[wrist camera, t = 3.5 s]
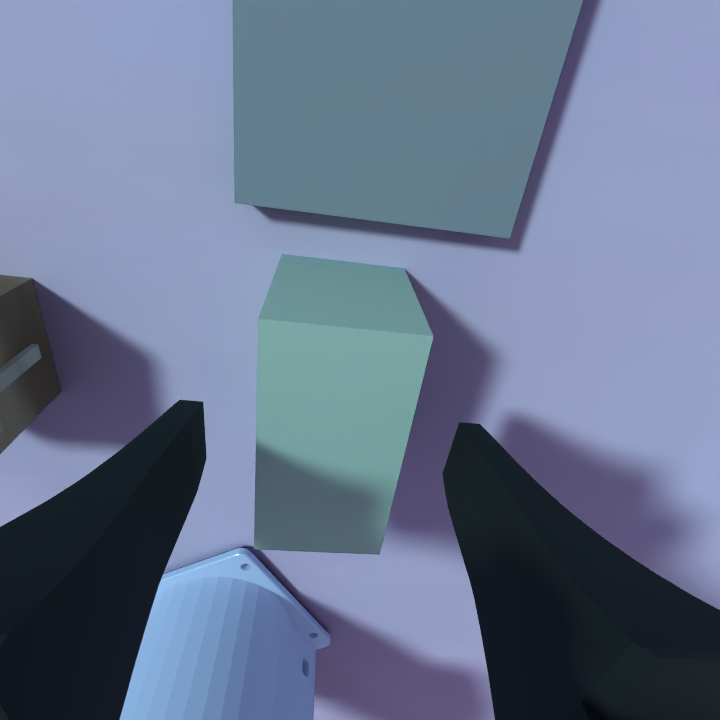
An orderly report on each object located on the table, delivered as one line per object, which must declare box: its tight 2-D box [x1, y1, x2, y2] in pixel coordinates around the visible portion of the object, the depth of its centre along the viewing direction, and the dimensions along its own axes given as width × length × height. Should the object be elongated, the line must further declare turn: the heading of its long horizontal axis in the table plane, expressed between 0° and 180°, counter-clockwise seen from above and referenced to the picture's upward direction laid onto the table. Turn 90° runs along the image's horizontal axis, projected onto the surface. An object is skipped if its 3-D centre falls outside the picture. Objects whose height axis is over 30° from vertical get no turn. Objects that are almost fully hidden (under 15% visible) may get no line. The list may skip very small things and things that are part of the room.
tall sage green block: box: [254, 254, 434, 555], centre depth 14 cm, size 8×4×5 cm, turn 172°
